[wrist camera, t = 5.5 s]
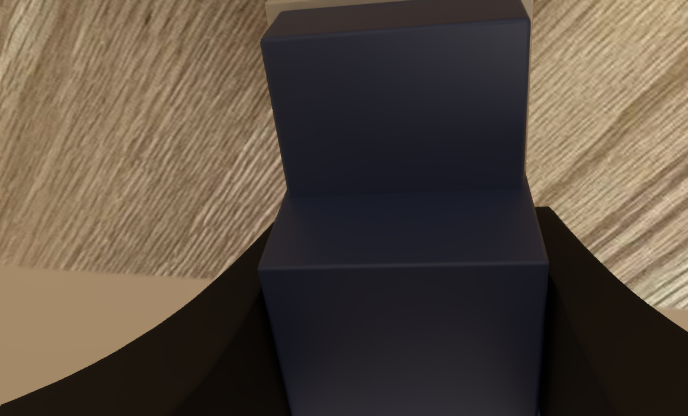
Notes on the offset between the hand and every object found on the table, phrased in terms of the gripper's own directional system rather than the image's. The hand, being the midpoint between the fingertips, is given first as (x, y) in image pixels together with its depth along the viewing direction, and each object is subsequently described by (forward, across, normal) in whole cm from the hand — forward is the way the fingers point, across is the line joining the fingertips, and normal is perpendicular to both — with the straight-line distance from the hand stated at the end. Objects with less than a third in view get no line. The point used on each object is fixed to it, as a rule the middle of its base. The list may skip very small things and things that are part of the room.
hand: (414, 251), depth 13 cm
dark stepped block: (+1, 0, -1) cm, 2 cm away
